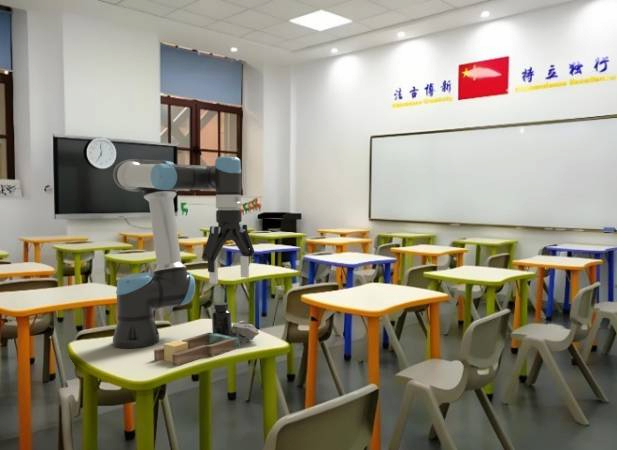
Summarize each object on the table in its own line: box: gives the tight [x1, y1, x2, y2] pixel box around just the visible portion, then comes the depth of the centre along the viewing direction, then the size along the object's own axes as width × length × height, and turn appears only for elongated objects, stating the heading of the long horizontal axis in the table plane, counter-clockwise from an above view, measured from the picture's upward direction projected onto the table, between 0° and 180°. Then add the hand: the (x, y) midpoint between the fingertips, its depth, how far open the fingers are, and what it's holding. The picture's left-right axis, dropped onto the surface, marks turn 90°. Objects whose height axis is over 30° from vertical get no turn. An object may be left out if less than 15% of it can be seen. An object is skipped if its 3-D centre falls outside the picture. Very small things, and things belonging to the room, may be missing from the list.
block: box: [163, 340, 188, 363], centre depth 153 cm, size 5×5×5 cm
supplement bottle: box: [211, 302, 233, 336], centre depth 178 cm, size 7×7×12 cm
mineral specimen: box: [230, 320, 260, 343], centre depth 171 cm, size 10×8×10 cm
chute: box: [153, 332, 240, 367], centre depth 159 cm, size 14×24×3 cm, turn 144°
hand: (229, 280), depth 151 cm, fingers open, 13 cm apart
